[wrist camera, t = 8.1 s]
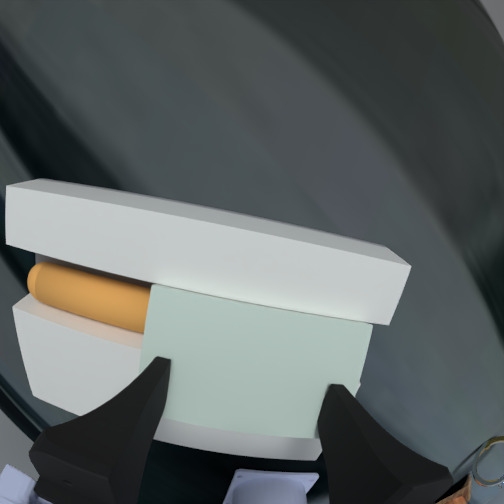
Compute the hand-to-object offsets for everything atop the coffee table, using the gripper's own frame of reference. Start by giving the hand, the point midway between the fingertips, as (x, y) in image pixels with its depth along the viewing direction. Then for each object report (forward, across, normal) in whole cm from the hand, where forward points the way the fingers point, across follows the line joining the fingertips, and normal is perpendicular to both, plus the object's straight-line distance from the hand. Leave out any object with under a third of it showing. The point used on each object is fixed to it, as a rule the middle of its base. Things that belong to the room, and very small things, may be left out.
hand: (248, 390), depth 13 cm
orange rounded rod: (+4, +8, 0) cm, 9 cm away
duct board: (+6, +4, +1) cm, 7 cm away
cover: (+1, 0, 0) cm, 1 cm away
